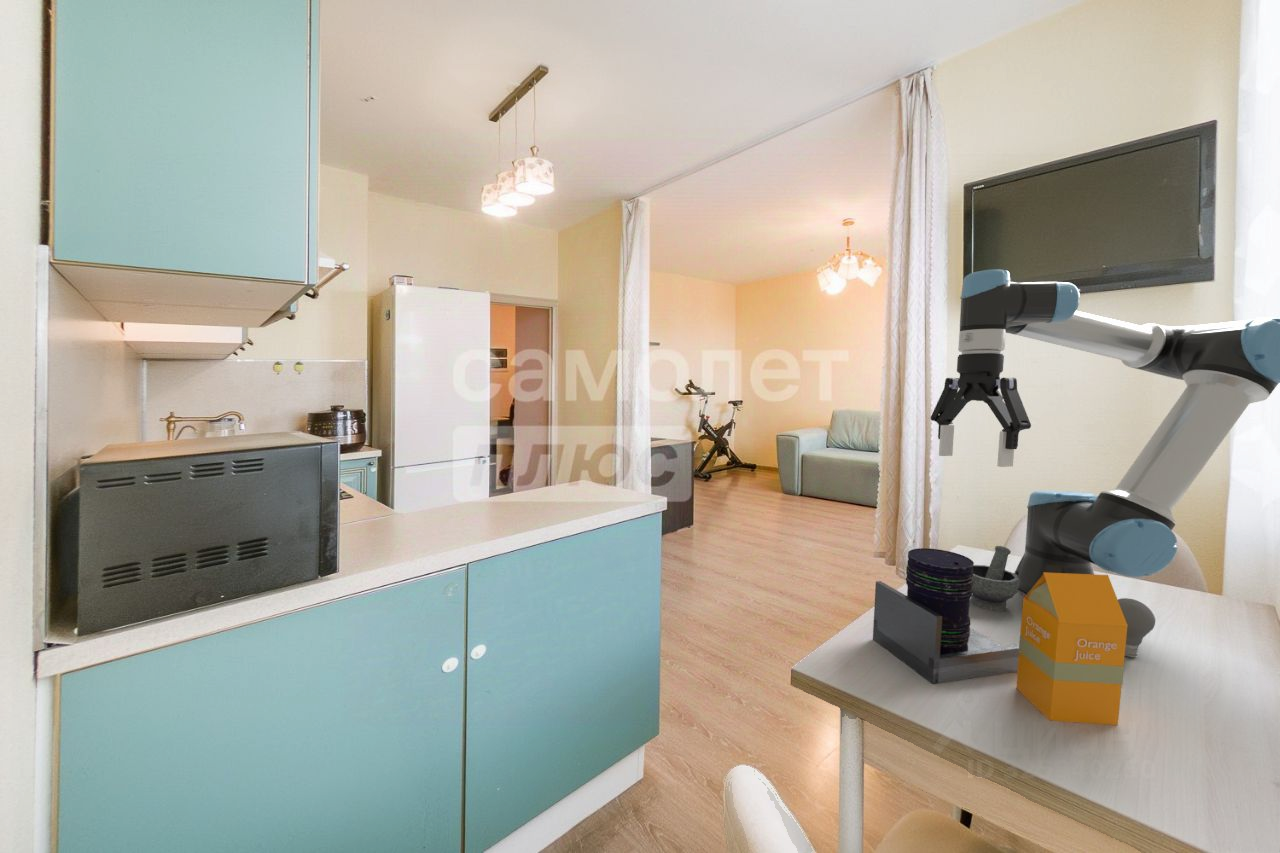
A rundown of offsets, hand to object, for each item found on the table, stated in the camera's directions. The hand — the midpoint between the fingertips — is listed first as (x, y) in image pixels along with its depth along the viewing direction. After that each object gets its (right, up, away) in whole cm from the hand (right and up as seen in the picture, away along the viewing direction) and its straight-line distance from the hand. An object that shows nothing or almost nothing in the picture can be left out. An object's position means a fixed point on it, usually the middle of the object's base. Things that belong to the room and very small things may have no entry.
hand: (973, 460), depth 100 cm
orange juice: (-4, -34, -26) cm, 43 cm away
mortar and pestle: (+9, -31, +8) cm, 34 cm away
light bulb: (+19, -33, -12) cm, 40 cm away
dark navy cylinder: (-15, -31, -13) cm, 37 cm away
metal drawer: (-14, -33, -12) cm, 38 cm away
